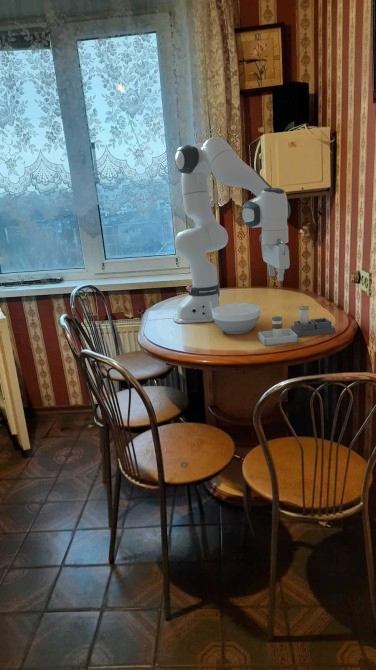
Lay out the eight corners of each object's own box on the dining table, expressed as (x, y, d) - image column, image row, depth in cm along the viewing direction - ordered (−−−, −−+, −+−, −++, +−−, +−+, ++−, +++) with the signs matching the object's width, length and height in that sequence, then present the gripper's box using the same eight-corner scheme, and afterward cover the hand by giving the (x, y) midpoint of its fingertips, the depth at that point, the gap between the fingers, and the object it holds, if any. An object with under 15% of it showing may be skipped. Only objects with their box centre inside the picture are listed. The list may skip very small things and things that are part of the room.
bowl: (213, 325, 195) (211, 304, 192) (258, 321, 194) (257, 301, 191) (213, 339, 177) (212, 316, 174) (263, 335, 176) (263, 313, 173)
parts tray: (264, 346, 164) (264, 339, 164) (258, 338, 173) (258, 332, 172) (298, 342, 165) (297, 335, 165) (289, 334, 174) (289, 328, 173)
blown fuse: (273, 340, 167) (273, 319, 165) (271, 337, 171) (271, 316, 168) (283, 340, 167) (282, 318, 165) (281, 337, 171) (281, 316, 168)
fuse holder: (298, 337, 171) (298, 326, 170) (291, 330, 178) (290, 320, 177) (335, 332, 172) (335, 322, 171) (326, 326, 180) (326, 316, 178)
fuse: (301, 329, 172) (301, 308, 170) (298, 326, 176) (297, 306, 173) (310, 328, 173) (310, 307, 170) (307, 325, 176) (307, 305, 174)
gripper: (294, 240, 149) (294, 282, 153) (275, 234, 168) (276, 272, 172) (274, 241, 148) (276, 284, 152) (258, 236, 167) (259, 274, 172)
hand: (276, 278), depth 162 cm, fingers open, 8 cm apart
